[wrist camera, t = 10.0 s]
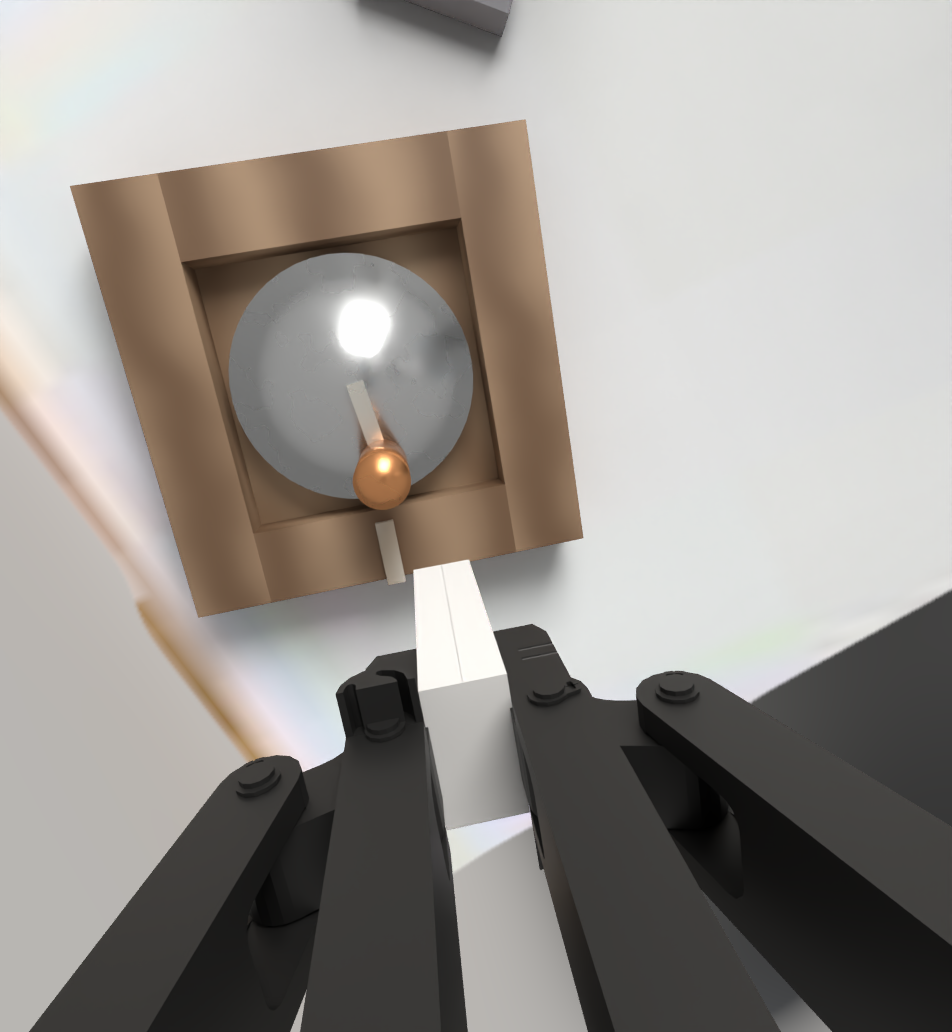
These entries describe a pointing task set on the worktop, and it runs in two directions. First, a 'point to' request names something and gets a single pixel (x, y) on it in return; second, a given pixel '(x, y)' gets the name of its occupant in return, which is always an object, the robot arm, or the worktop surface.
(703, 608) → the worktop surface
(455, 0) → the screwdriver
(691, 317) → the worktop surface
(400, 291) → the dial
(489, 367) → the housing
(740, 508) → the worktop surface
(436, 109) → the worktop surface
